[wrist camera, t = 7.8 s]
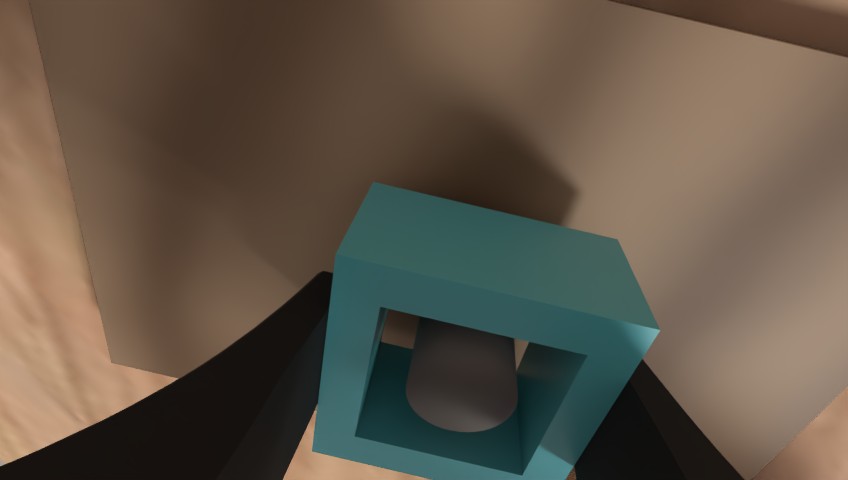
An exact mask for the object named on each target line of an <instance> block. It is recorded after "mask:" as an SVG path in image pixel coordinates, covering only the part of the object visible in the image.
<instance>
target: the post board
mask: <svg viewBox="0 0 848 480" xmlns="http://www.w3.org/2000/svg"><path fill="white" fill-rule="evenodd" d="M29 4H30V8H31V13H32V17H33V21H34V26H35V30H36V35H37V39H38V43H39V48H40V52H41V56H42V61H43V65H44V70H45V74H46V78H47V83H48V87H49V91H50V96H51V100H52V105H53V109H54V113H55V118H56V122H57V126H58V131H59V135H60V140H61V144H62V148H63V153H64V157H65V161H66V166H67V170H68V175H69V179H70V183H71V188H72V192H73V196H74V201H75V205H76V210H77V214H78V218H79V223H80V227H81V231H82V236H83V240H84V245H85V249H86V253H87V258H88V262H89V266H90V271H91V275H92V280H93V284H94V288H95V293H96V297H97V301H98V306H99V310H100V315H101V319H102V323H103V328H104V332H105V337H106V341H107V345H108V350H109V354H110V358H111V363H115V364H119V365H123V366H128V367H132V368H136V369H141V370H145V371H149V372H153V373H158V374H162V375H166V376H170V377H175V378H181V377H183V376H184V375H186V374H188V373H189V372H191V371H192V370H194V369H196V368H197V367H199V366H200V365H202V364H203V363H205V362H207V361H208V360H210V359H211V358H213V357H214V356H216V355H217V354H219V353H220V352H221V351H223V350H224V349H226V348H227V347H228V346H230V345H231V344H233V343H234V342H235V341H237V340H238V339H240V338H241V337H242V336H244V335H245V334H247V333H248V332H249V331H251V330H252V329H253V328H255V327H256V326H257V325H259V324H260V323H261V322H262V321H263V320H265V319H266V318H267V317H268V316H270V315H271V314H272V313H273V312H275V311H276V310H277V309H278V308H280V307H281V306H282V305H283V304H284V303H286V302H287V301H288V300H289V299H290V298H291V297H293V296H294V295H295V294H296V293H297V292H298V291H299V290H301V289H302V288H303V287H304V286H305V285H306V284H307V283H308V282H309V281H310V280H311V279H312V278H313V277H315V276H316V275H317V274H318V273H320V272H321V271H327V272H331V273H333V272H334V263H335V255H336V252H337V250H338V248H339V246H340V245H341V243H342V241H343V239H344V237H345V235H346V233H347V231H348V229H349V227H350V225H351V224H352V222H353V220H354V218H355V216H356V214H357V212H358V210H359V208H360V206H361V204H362V202H363V201H364V199H365V197H366V195H367V193H368V191H369V189H370V187H371V185H372V183H373V182H376V183H381V184H385V185H389V186H393V187H398V188H402V189H406V190H410V191H415V192H419V193H423V194H427V195H432V196H436V197H440V198H444V199H449V200H453V201H457V202H461V203H466V204H470V205H474V206H478V207H483V208H487V209H491V210H495V211H500V212H504V213H508V214H512V215H517V216H521V217H525V218H529V219H533V220H538V221H542V222H546V223H550V224H555V225H559V226H563V227H567V228H572V229H576V230H580V231H584V232H589V233H593V234H597V235H601V236H606V237H610V238H614V239H618V241H619V243H620V245H621V247H622V249H623V252H624V254H625V256H626V258H627V260H628V262H629V264H630V267H631V269H632V271H633V273H634V275H635V277H636V279H637V281H638V284H639V286H640V288H641V290H642V292H643V294H644V296H645V299H646V301H647V303H648V305H649V307H650V309H651V311H652V314H653V316H654V318H655V320H656V322H657V324H658V326H659V328H660V332H659V333H658V335H657V336H656V338H655V339H654V341H653V343H652V344H651V346H650V347H649V349H648V350H647V352H646V354H645V355H644V357H643V358H642V359H643V360H644V361H645V363H646V364H647V365H648V366H649V367H650V369H651V370H652V371H653V372H654V374H655V375H656V376H657V377H658V379H659V380H660V381H661V382H662V384H663V385H664V386H665V387H666V389H667V390H668V391H669V392H670V394H671V395H672V396H673V397H674V398H675V400H676V401H677V402H678V403H679V405H680V406H681V407H682V408H683V409H684V411H685V412H686V413H687V414H688V416H689V417H690V418H691V419H692V420H693V422H694V423H695V424H696V425H697V426H698V427H699V429H700V430H701V431H702V432H703V433H704V435H705V436H706V437H707V438H708V439H709V440H710V441H711V443H712V444H713V445H714V446H715V447H716V448H717V450H718V451H719V452H720V453H721V454H722V455H723V456H724V457H725V458H726V460H727V461H728V462H729V463H730V464H731V465H732V466H733V467H734V468H735V469H736V471H737V472H738V473H739V474H740V475H741V476H742V477H743V478H744V479H745V480H752V479H753V478H754V477H755V476H756V475H757V474H758V473H759V472H760V471H761V470H762V469H763V468H764V467H765V466H766V465H767V464H768V463H769V462H770V461H772V460H773V459H774V458H775V457H776V456H777V455H778V454H779V453H780V452H781V451H782V450H783V449H784V448H785V447H786V446H787V445H788V444H789V443H790V442H791V441H792V440H793V439H794V438H795V437H796V436H797V435H798V434H799V433H800V432H801V431H802V430H803V429H804V428H805V427H806V426H807V425H808V424H809V423H810V422H811V421H812V420H814V419H815V418H816V417H817V416H818V415H819V414H820V413H821V412H822V411H823V410H824V409H825V408H826V407H827V406H828V405H829V404H830V403H831V402H832V401H833V400H834V399H835V398H836V397H837V396H838V395H839V394H840V393H841V392H842V391H843V390H844V389H845V388H846V387H847V386H848V56H844V55H840V54H836V53H832V52H827V51H823V50H819V49H815V48H811V47H806V46H802V45H798V44H794V43H790V42H785V41H781V40H777V39H773V38H769V37H764V36H760V35H756V34H752V33H748V32H743V31H739V30H735V29H731V28H727V27H722V26H718V25H714V24H710V23H706V22H701V21H697V20H693V19H689V18H685V17H680V16H676V15H672V14H668V13H664V12H659V11H655V10H651V9H647V8H643V7H639V6H634V5H630V4H626V3H622V2H618V1H613V0H29ZM381 342H384V343H389V344H393V345H397V346H401V347H406V348H410V349H413V352H412V358H411V363H410V368H409V373H408V378H407V384H406V396H407V399H408V402H409V404H410V405H411V407H412V408H413V410H414V411H415V412H416V413H417V414H418V415H419V416H420V417H422V418H423V419H424V420H426V421H427V422H429V423H431V424H433V425H435V426H437V427H440V428H443V429H447V430H451V431H457V432H477V431H483V430H487V429H490V428H493V427H495V426H497V425H499V424H501V423H503V422H504V421H506V420H507V419H508V418H509V417H510V416H511V415H512V413H513V412H514V410H515V408H516V406H517V402H518V389H517V375H516V371H517V368H518V366H519V364H520V362H521V359H522V357H523V355H524V353H525V350H526V348H527V346H528V343H529V342H528V341H524V340H520V339H516V338H511V337H507V336H503V335H499V334H494V333H490V332H486V331H482V330H477V329H473V328H469V327H465V326H460V325H456V324H452V323H448V322H443V321H439V320H435V319H430V318H426V317H422V316H418V315H413V314H409V313H405V312H401V311H396V310H392V309H388V312H387V317H386V322H385V326H384V331H383V336H382V341H381ZM317 406H318V404H317ZM317 406H316V408H315V410H316V411H317ZM572 471H575V467H573V468H572Z"/></svg>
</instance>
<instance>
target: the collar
mask: <svg viewBox="0 0 848 480" xmlns="http://www.w3.org/2000/svg"><path fill="white" fill-rule="evenodd" d="M388 309H392V310H396V311H401V312H405V313H409V314H413V315H418V316H422V317H426V318H430V319H435V320H439V321H443V322H448V323H452V324H456V325H460V326H465V327H469V328H473V329H477V330H482V331H486V332H490V333H494V334H499V335H503V336H507V337H511V338H516V339H520V340H524V341H528V342H529V343H528V346H527V348H526V350H525V353H524V355H523V357H522V359H521V362H520V364H519V366H518V368H517V371H516V375H517V389H518V402H517V406H516V408H515V410H514V412H513V413H512V415H511V416H510V417H509V418H508V419H507V420H506V421H504V422H503V423H501V424H499V425H497V426H495V427H493V428H490V429H487V430H483V431H477V432H457V431H451V430H447V429H443V428H440V427H437V426H435V425H433V424H431V423H429V422H427V421H426V420H424V419H423V418H422V417H420V416H419V415H418V414H417V413H416V412H415V411H414V410H413V408H412V407H411V405H410V404H409V402H408V399H407V396H406V384H407V378H408V373H409V368H410V363H411V358H412V352H413V349H410V348H406V347H401V346H397V345H393V344H389V343H384V342H381V341H382V336H383V331H384V326H385V322H386V317H387V312H388ZM659 332H660V328H659V326H658V324H657V322H656V320H655V318H654V316H653V314H652V311H651V309H650V307H649V305H648V303H647V301H646V299H645V296H644V294H643V292H642V290H641V288H640V286H639V284H638V281H637V279H636V277H635V275H634V273H633V271H632V269H631V267H630V264H629V262H628V260H627V258H626V256H625V254H624V252H623V249H622V247H621V245H620V243H619V241H618V239H614V238H610V237H606V236H601V235H597V234H593V233H589V232H584V231H580V230H576V229H572V228H567V227H563V226H559V225H555V224H550V223H546V222H542V221H538V220H533V219H529V218H525V217H521V216H517V215H512V214H508V213H504V212H500V211H495V210H491V209H487V208H483V207H478V206H474V205H470V204H466V203H461V202H457V201H453V200H449V199H444V198H440V197H436V196H432V195H427V194H423V193H419V192H415V191H410V190H406V189H402V188H398V187H393V186H389V185H385V184H381V183H376V182H373V183H372V185H371V187H370V189H369V191H368V193H367V195H366V197H365V199H364V201H363V202H362V204H361V206H360V208H359V210H358V212H357V214H356V216H355V218H354V220H353V222H352V224H351V225H350V227H349V229H348V231H347V233H346V235H345V237H344V239H343V241H342V243H341V245H340V246H339V248H338V250H337V252H336V255H335V263H334V272H333V280H332V289H331V297H330V305H329V314H328V322H327V330H326V339H325V347H324V355H323V364H322V372H321V381H320V389H319V397H318V406H317V414H316V422H315V431H314V439H313V448H312V451H313V452H317V453H321V454H326V455H330V456H334V457H338V458H343V459H347V460H351V461H356V462H360V463H364V464H368V465H373V466H377V467H381V468H385V469H390V470H394V471H398V472H403V473H407V474H411V475H415V476H420V477H424V478H428V479H433V480H565V479H566V478H567V476H568V474H569V473H570V471H571V470H572V468H573V467H574V465H575V463H576V462H577V460H578V459H579V457H580V456H581V454H582V452H583V451H584V449H585V448H586V446H587V445H588V443H589V442H590V440H591V438H592V437H593V435H594V434H595V432H596V431H597V429H598V427H599V426H600V424H601V423H602V421H603V420H604V418H605V416H606V415H607V413H608V412H609V410H610V409H611V407H612V405H613V404H614V402H615V401H616V399H617V398H618V396H619V394H620V393H621V391H622V390H623V388H624V387H625V385H626V383H627V382H628V380H629V379H630V377H631V376H632V374H633V372H634V371H635V369H636V368H637V366H638V365H639V363H640V361H641V360H642V358H643V357H644V355H645V354H646V352H647V350H648V349H649V347H650V346H651V344H652V343H653V341H654V339H655V338H656V336H657V335H658V333H659Z"/></svg>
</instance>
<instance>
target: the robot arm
mask: <svg viewBox="0 0 848 480" xmlns="http://www.w3.org/2000/svg"><path fill="white" fill-rule="evenodd" d="M332 280H333V273H331V272H327V271H321V272H320V273H318V274H317V275H316V276H315V277H313V278H312V279H311V280H310V281H309V282H308V283H307V284H306V285H305V286H304V287H303V288H302V289H301V290H299V291H298V292H297V293H296V294H295V295H294V296H293V297H291V298H290V299H289V300H288V301H287V302H286V303H284V304H283V305H282V306H281V307H280V308H278V309H277V310H276V311H275V312H273V313H272V314H271V315H270V316H268V317H267V318H266V319H265V320H263V321H262V322H261V323H260V324H259V325H257V326H256V327H255V328H253V329H252V330H251V331H249V332H248V333H247V334H245V335H244V336H242V337H241V338H240V339H238V340H237V341H235V342H234V343H233V344H231V345H230V346H228V347H227V348H226V349H224V350H223V351H221V352H220V353H219V354H217V355H216V356H214V357H213V358H211V359H210V360H208V361H207V362H205V363H203V364H202V365H200V366H199V367H197V368H196V369H194V370H192V371H191V372H189V373H188V374H186V375H184V376H183V377H181V378H179V379H178V380H176V381H174V382H173V383H171V384H169V385H168V386H166V387H164V388H162V389H160V390H159V391H157V392H155V393H153V394H151V395H150V396H148V397H146V398H144V399H142V400H141V401H139V402H137V403H135V404H133V405H131V406H130V407H128V408H126V409H124V410H122V411H120V412H118V413H116V414H114V415H112V416H110V417H108V418H106V419H104V420H102V421H100V422H98V423H96V424H94V425H92V426H89V427H87V428H85V429H83V430H81V431H79V432H77V433H74V434H72V435H70V436H68V437H66V438H64V439H62V440H59V441H57V442H55V443H53V444H51V445H49V446H47V447H44V448H42V449H40V450H38V451H36V452H33V453H31V454H29V455H26V456H24V457H22V458H20V459H17V460H15V461H13V462H10V463H8V464H5V465H2V466H0V480H283V478H284V475H285V473H286V471H287V469H288V467H289V464H290V462H291V460H292V458H293V456H294V454H295V452H296V449H297V447H298V445H299V443H300V441H301V439H302V436H303V434H304V432H305V430H306V428H307V426H308V424H309V421H310V419H311V417H312V415H313V413H314V411H315V408H316V406H317V404H318V397H319V389H320V381H321V372H322V364H323V355H324V347H325V339H326V330H327V322H328V314H329V305H330V297H331V289H332ZM574 467H575V473H576V479H577V480H745V479H744V478H743V477H742V476H741V475H740V474H739V473H738V472H737V471H736V469H735V468H734V467H733V466H732V465H731V464H730V463H729V462H728V461H727V460H726V458H725V457H724V456H723V455H722V454H721V453H720V452H719V451H718V450H717V448H716V447H715V446H714V445H713V444H712V443H711V441H710V440H709V439H708V438H707V437H706V436H705V435H704V433H703V432H702V431H701V430H700V429H699V427H698V426H697V425H696V424H695V423H694V422H693V420H692V419H691V418H690V417H689V416H688V414H687V413H686V412H685V411H684V409H683V408H682V407H681V406H680V405H679V403H678V402H677V401H676V400H675V398H674V397H673V396H672V395H671V394H670V392H669V391H668V390H667V389H666V387H665V386H664V385H663V384H662V382H661V381H660V380H659V379H658V377H657V376H656V375H655V374H654V372H653V371H652V370H651V369H650V367H649V366H648V365H647V364H646V363H645V361H644V360H643V359H642V360H641V361H640V363H639V365H638V366H637V368H636V369H635V371H634V372H633V374H632V376H631V377H630V379H629V380H628V382H627V383H626V385H625V387H624V388H623V390H622V391H621V393H620V394H619V396H618V398H617V399H616V401H615V402H614V404H613V405H612V407H611V409H610V410H609V412H608V413H607V415H606V416H605V418H604V420H603V421H602V423H601V424H600V426H599V427H598V429H597V431H596V432H595V434H594V435H593V437H592V438H591V440H590V442H589V443H588V445H587V446H586V448H585V449H584V451H583V452H582V454H581V456H580V457H579V459H578V460H577V462H576V463H575V465H574Z"/></svg>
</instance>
